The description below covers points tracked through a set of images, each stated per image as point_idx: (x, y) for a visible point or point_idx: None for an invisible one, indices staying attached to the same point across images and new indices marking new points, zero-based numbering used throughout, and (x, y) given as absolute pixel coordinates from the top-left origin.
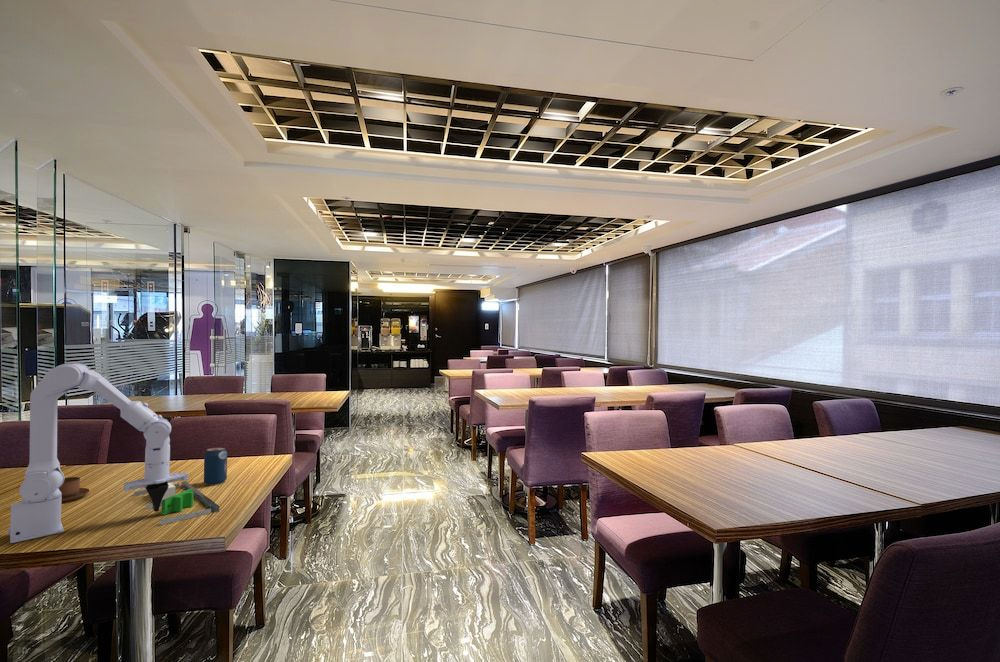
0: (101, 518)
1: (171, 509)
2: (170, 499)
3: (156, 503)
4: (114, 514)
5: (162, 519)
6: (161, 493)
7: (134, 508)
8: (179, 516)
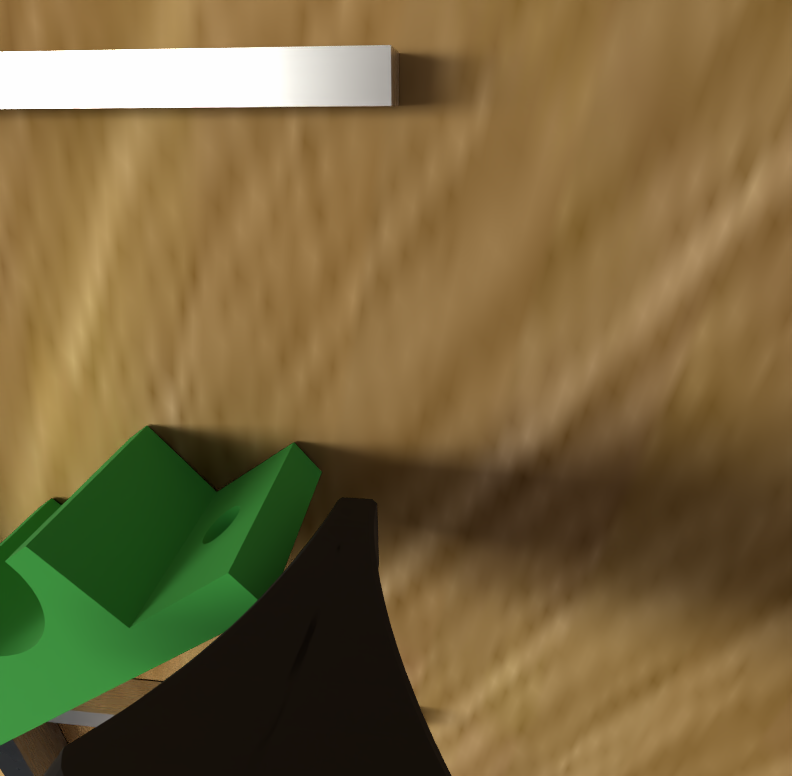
0: (721, 739)
1: (216, 505)
2: (169, 596)
3: (347, 563)
4: (615, 752)
5: (352, 90)
6: (229, 682)
7: (463, 769)
8: (117, 54)
